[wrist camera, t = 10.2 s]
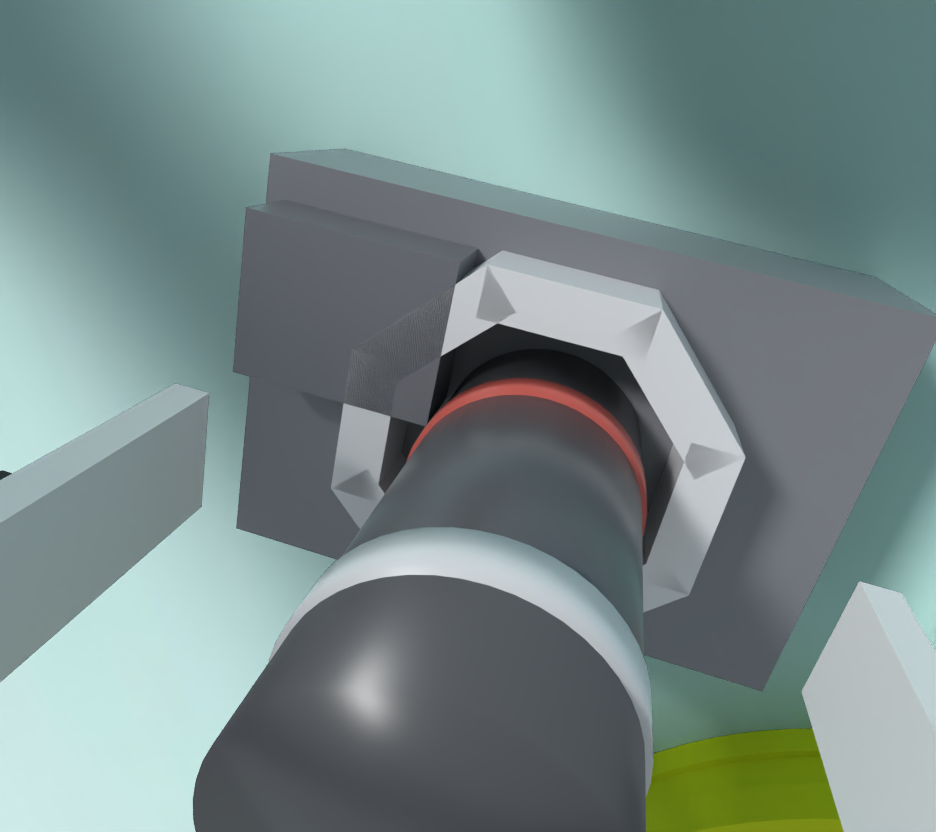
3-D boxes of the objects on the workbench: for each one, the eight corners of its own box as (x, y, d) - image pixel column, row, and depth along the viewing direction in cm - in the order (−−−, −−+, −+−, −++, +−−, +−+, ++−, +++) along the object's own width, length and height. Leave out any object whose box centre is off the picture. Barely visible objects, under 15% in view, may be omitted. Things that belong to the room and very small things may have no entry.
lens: (423, 502, 20) (177, 937, 9) (460, 321, 18) (194, 613, 7) (611, 558, 20) (580, 1091, 9) (673, 376, 17) (733, 788, 7)
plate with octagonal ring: (304, 460, 27) (200, 563, 20) (344, 148, 22) (228, 155, 16) (738, 588, 25) (774, 746, 18) (876, 277, 20) (987, 344, 14)
